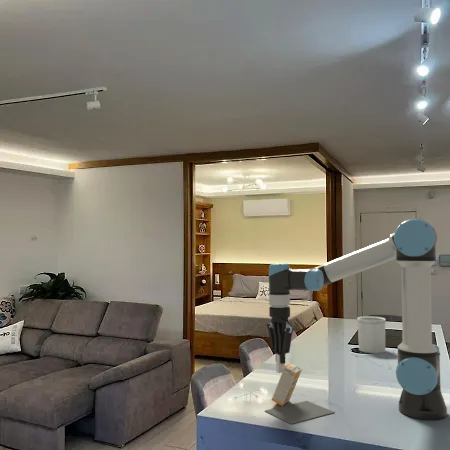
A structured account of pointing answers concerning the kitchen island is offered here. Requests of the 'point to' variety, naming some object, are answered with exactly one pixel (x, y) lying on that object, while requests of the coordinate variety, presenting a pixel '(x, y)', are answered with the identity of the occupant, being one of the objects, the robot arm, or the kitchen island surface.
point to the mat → (299, 412)
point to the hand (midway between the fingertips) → (280, 372)
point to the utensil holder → (371, 334)
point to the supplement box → (286, 384)
